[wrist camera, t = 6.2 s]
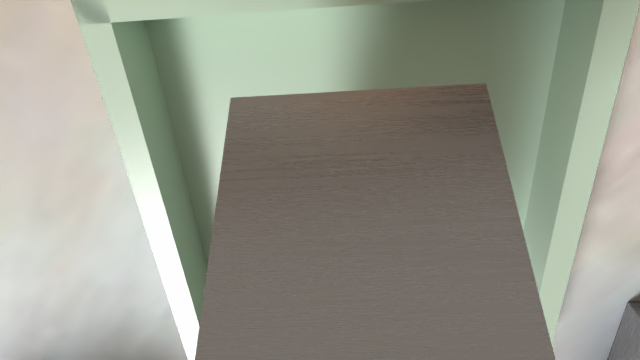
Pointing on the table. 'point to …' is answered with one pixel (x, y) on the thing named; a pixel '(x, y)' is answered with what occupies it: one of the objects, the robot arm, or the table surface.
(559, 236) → the tray
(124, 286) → the table surface
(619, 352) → the stud mount
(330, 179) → the strut
